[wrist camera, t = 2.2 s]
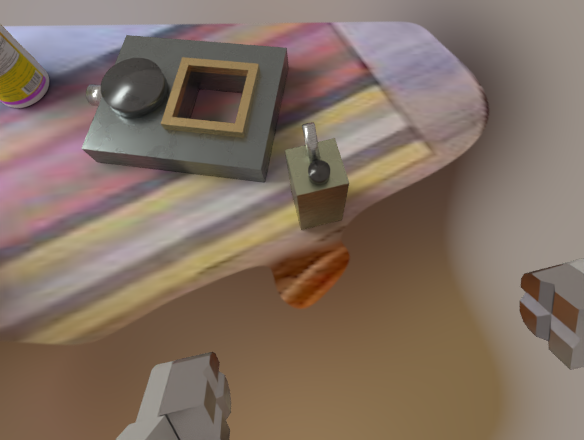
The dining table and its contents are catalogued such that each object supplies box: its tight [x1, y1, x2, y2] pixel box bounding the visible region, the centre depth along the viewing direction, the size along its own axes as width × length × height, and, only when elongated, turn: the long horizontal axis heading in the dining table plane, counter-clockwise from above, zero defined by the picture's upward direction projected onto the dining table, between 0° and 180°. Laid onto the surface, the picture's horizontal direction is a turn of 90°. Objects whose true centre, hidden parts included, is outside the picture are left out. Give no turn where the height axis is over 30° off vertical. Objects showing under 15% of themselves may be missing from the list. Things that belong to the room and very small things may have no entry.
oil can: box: [285, 123, 349, 230], centre depth 34 cm, size 4×5×12 cm
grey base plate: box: [82, 35, 288, 182], centre depth 42 cm, size 22×16×4 cm
